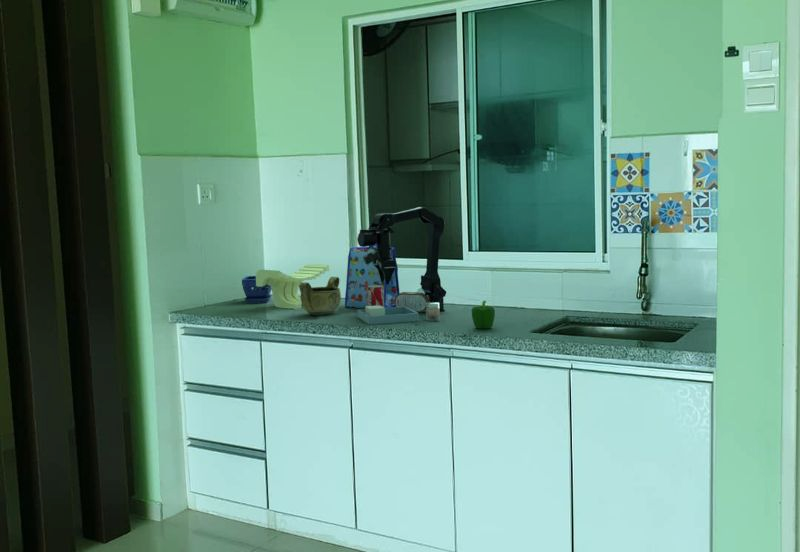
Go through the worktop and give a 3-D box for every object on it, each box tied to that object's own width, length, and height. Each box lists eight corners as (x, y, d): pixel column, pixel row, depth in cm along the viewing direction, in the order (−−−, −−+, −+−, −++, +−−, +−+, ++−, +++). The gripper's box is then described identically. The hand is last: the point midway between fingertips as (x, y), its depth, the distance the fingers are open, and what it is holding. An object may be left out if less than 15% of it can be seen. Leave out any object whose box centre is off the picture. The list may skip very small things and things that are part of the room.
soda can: (382, 316, 338) (381, 287, 337) (365, 316, 340) (364, 287, 339) (385, 313, 345) (385, 284, 344) (369, 313, 347) (368, 285, 345)
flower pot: (270, 303, 387) (269, 278, 385) (242, 304, 387) (241, 278, 385) (274, 299, 400) (273, 275, 399) (246, 300, 400) (245, 275, 398)
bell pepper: (486, 330, 297) (486, 303, 296) (468, 328, 302) (467, 301, 301) (499, 327, 303) (499, 300, 302) (481, 325, 309) (480, 299, 308)
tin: (430, 312, 346) (429, 292, 345) (427, 313, 343) (427, 293, 342) (396, 311, 352) (396, 291, 351) (393, 312, 349) (393, 292, 348)
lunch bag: (401, 306, 366) (399, 241, 362) (384, 310, 354) (382, 243, 351) (361, 303, 377) (359, 240, 374) (343, 307, 366) (341, 242, 363)
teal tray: (405, 314, 340) (404, 306, 339) (418, 322, 320) (418, 313, 320) (357, 318, 334) (357, 309, 334) (368, 325, 315) (368, 316, 315)
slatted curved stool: (306, 300, 392) (305, 263, 390) (330, 303, 382) (328, 264, 380) (257, 308, 370) (255, 269, 368) (280, 311, 359) (278, 270, 357)
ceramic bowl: (323, 309, 361) (322, 275, 359) (353, 312, 351) (352, 277, 349) (288, 317, 343) (286, 281, 341) (319, 319, 333) (318, 282, 331)
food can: (437, 319, 326) (436, 301, 325) (441, 321, 321) (441, 303, 320) (424, 320, 325) (424, 302, 324) (428, 322, 320) (428, 304, 319)
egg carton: (380, 317, 331) (379, 305, 330) (385, 320, 323) (384, 308, 322) (365, 318, 329) (365, 306, 329) (370, 321, 321) (369, 309, 321)
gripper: (359, 244, 341) (361, 282, 343) (368, 247, 323) (369, 287, 325) (385, 243, 344) (387, 280, 346) (395, 245, 326) (397, 285, 327)
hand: (384, 283), depth 336 cm, fingers open, 9 cm apart
